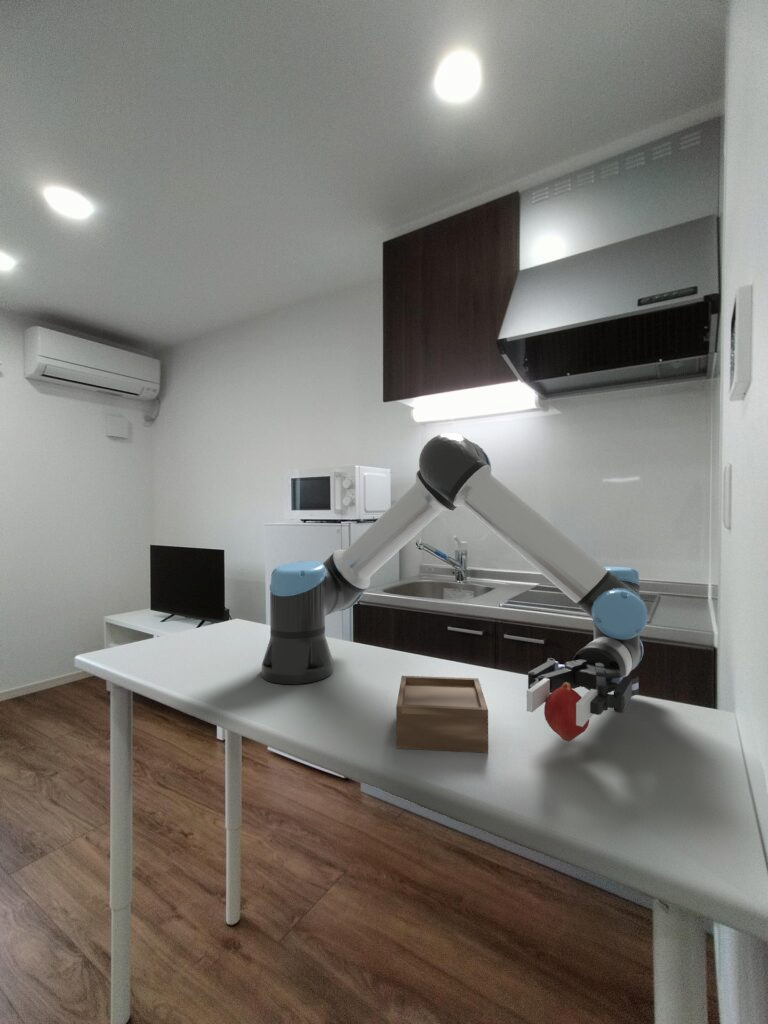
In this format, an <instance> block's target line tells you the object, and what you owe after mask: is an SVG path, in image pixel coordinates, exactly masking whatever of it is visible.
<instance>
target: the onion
mask: <svg viewBox="0 0 768 1024" xmlns="http://www.w3.org/2000/svg"><path fill="white" fill-rule="evenodd" d="M582 697H583V696H581V695H580V694H579V693H578V692H577V691H576V690H575V689H572V688H571V686H570V683H567V682H565V683H564V684H563V685H562V686H561V687H560V688H558V689H556V690H555V691H553V692H552V693H550V695H549V696H548V698H547V700H546V702H544V708H543V709H544V710H543V711H544V712H543V715H544V718H545V721H546V722H547V724H548V726H549V727H550V729H552V731H553V732H555V734H557V735H558V736H559V737H560V738H561V739H562V740H563V741H565V742H570V741H574V739H576V738H577V737H578V736H580V735H581V734H583V733H585V731H586V730H587V729H588V727H589V725H590V724H589V723H590V719H589V720H588V721H587V722H586V723H585V725H584V726H583V727H581V726H578V725H576V703H577V702H578V701H579V700H580V699H581V698H582Z"/></svg>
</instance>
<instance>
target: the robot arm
mask: <svg viewBox="0 0 768 1024" xmlns="http://www.w3.org/2000/svg"><path fill="white" fill-rule="evenodd" d="M418 468H419V470H418V471H417V472H416V473H415V482H414V484H413V485H412V486H411V487H410V488H409V489H408V490H406V492H405V493H404V494H403V495H402V496H400V497H399V498H398V499H397V500H396V501H395V502H394V503H393V504H392V505H390V507H389V508H388V509H387V510H386V511H385V512H384V513H383V514H381V515H380V517H379V518H378V519H377V520H375V521H374V522H373V523H372V524H371V525H370V526H369V527H368V528H367V529H366V530H365V531H364V532H363V533H362V534H361V535H359V537H358V538H357V539H356V540H355V541H353V542H352V543H351V544H350V546H348V548H346V549H337V550H335V551H334V552H332V554H331V555H330V556H329V557H328V558H327V559H326V560H325V561H324V562H321V561H316V560H315V561H314V560H299V561H296V562H287V563H283V564H281V565H278V566H277V567H275V568H273V570H272V571H271V576H270V584H269V592H270V595H269V596H270V601H269V602H270V607H269V608H270V610H269V611H270V613H269V614H270V617H269V618H270V619H269V621H270V625H269V626H270V632H269V633H270V634H269V635H270V637H269V638H270V639H269V641H268V644H267V648H266V649H265V653H264V656H263V660H262V663H261V677H262V678H263V679H264V680H265V681H267V682H269V683H270V682H271V683H274V684H280V685H299V684H308V683H309V684H310V683H314V682H319V681H322V680H323V679H326V678H329V677H330V676H331V675H332V674H333V672H334V660H333V656H332V654H331V650H330V647H329V643H328V640H327V637H326V616H328V615H330V614H334V613H336V612H340V611H345V610H347V609H350V608H352V607H354V605H355V604H357V603H358V602H359V601H360V600H361V599H362V597H363V595H364V592H365V591H366V590H367V589H368V588H369V587H370V585H371V577H372V575H374V574H375V573H376V572H377V571H379V569H381V568H382V567H383V566H384V565H385V564H386V563H387V562H388V561H389V560H390V559H391V558H392V557H393V556H395V555H396V554H397V553H398V552H399V551H400V550H402V549H403V547H404V546H406V545H407V544H408V543H409V542H410V541H411V540H412V539H413V538H415V536H417V535H418V533H420V532H422V530H423V529H424V528H425V527H427V526H428V525H429V524H430V523H431V522H432V521H433V520H435V518H436V517H438V515H440V514H441V513H442V512H453V511H455V510H456V509H457V507H464V508H465V509H466V510H467V511H469V512H470V514H472V515H473V516H474V517H475V518H476V519H478V520H479V521H480V522H481V523H483V524H484V525H485V527H487V528H488V529H489V530H491V532H492V533H494V534H495V535H496V536H498V538H499V539H501V540H502V541H503V542H504V543H505V544H506V545H508V546H509V547H510V548H511V549H512V550H513V551H515V552H516V553H517V554H518V555H519V556H520V557H522V559H524V560H525V561H526V562H528V563H529V564H530V566H532V567H533V568H534V569H535V570H537V571H538V572H539V573H540V574H541V575H543V576H544V577H545V578H546V579H547V580H548V581H549V582H551V583H552V584H553V585H554V586H555V587H557V588H558V590H560V591H561V592H562V593H563V594H564V595H565V596H567V597H568V598H569V599H570V600H572V601H573V602H574V604H576V605H577V606H578V608H580V609H581V610H582V611H583V612H585V614H586V615H587V616H589V617H590V618H591V619H592V622H593V640H592V641H590V642H589V643H587V644H585V646H584V647H582V648H580V649H579V650H578V651H577V652H576V653H575V655H574V656H573V659H572V660H570V661H566V662H564V664H560V663H559V661H556V659H555V658H552V657H548V658H547V660H546V662H544V663H541V665H539V666H537V667H535V668H533V669H532V670H530V671H528V672H527V690H526V712H528V713H529V712H530V713H533V712H535V711H536V710H537V709H539V708H540V707H541V706H543V704H545V702H546V700H547V698H548V696H549V695H550V694H551V693H552V692H553V691H555V690H556V689H558V688H560V687H561V686H562V685H563V684H564V683H565V682H567V683H570V686H571V688H572V689H573V690H575V689H577V688H584V689H586V690H587V691H588V692H586V693H585V694H584V695H583V696H581V697H582V698H581V699H580V700H579V701H578V702H577V703H576V725H578V726H581V727H583V726H584V725H585V723H586V722H587V721H588V720H589V721H590V719H591V718H592V716H593V715H597V716H599V715H602V714H603V712H605V711H608V709H609V708H610V709H611V708H612V709H613V712H615V713H617V714H623V713H624V711H625V710H626V708H627V706H628V704H629V702H630V701H631V699H632V697H634V696H637V695H639V687H640V686H639V682H640V681H639V676H638V675H635V674H631V671H633V670H635V669H636V668H637V667H638V666H639V664H640V663H641V661H642V659H643V656H644V644H643V642H642V640H641V638H640V634H641V633H642V632H643V631H644V629H645V627H646V626H647V623H648V613H649V612H648V607H647V603H645V601H644V599H642V597H641V595H640V587H641V583H640V576H639V575H640V574H639V571H638V570H637V569H636V568H632V567H625V566H610V565H608V566H603V565H602V564H601V563H599V562H598V561H597V560H596V559H594V557H592V556H591V555H590V554H588V552H586V551H585V550H584V549H583V548H581V547H580V546H579V545H577V543H575V542H574V541H573V540H572V539H570V538H569V537H568V536H567V535H566V534H564V533H563V532H562V531H560V530H559V528H557V527H556V526H554V525H553V524H552V523H551V522H549V521H548V520H547V519H546V518H545V517H544V516H542V515H541V514H540V513H538V512H537V511H536V509H533V507H532V506H530V505H529V504H528V503H527V502H525V501H524V500H523V499H522V498H521V497H519V496H518V495H517V494H516V493H514V492H513V490H511V489H509V488H508V487H507V486H506V485H505V484H503V483H502V482H501V481H500V480H498V479H497V478H496V477H495V476H494V475H493V474H492V464H491V461H490V458H489V456H488V455H487V453H486V452H485V451H484V449H483V448H482V447H480V446H479V445H478V444H477V443H475V442H473V441H471V440H469V439H468V438H466V437H464V436H463V435H461V434H457V433H453V432H451V433H450V432H448V433H441V434H437V435H436V436H434V437H432V438H431V439H430V440H429V441H427V442H426V444H425V445H424V447H423V448H422V449H421V452H420V454H419V459H418ZM611 692H613V693H612V694H611Z"/></svg>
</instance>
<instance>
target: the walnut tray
mask: <svg viewBox="0 0 768 1024" xmlns="http://www.w3.org/2000/svg"><path fill="white" fill-rule="evenodd" d="M399 684H400V685H399V689H398V694H397V695H398V696H397V699H396V708H395V709H396V711H395V712H396V713H395V714H396V715H395V719H396V721H395V722H396V724H395V725H396V726H395V729H396V732H395V733H396V734H395V735H396V736H395V737H396V745H395V746H396V747H395V748H396V749H401V748H411V749H410V750H421V749H422V750H425V751H441V752H442V751H443V752H461V753H462V752H463V753H465V752H466V753H482V754H483V753H486V754H488V753H489V709H488V705H487V703H486V698H485V696H484V692H483V690H482V685H481V682H480V680H479V678H478V677H450V676H449V677H448V676H447V677H445V676H424V675H422V676H420V675H417V676H416V675H401V678H400V683H399Z"/></svg>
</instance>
